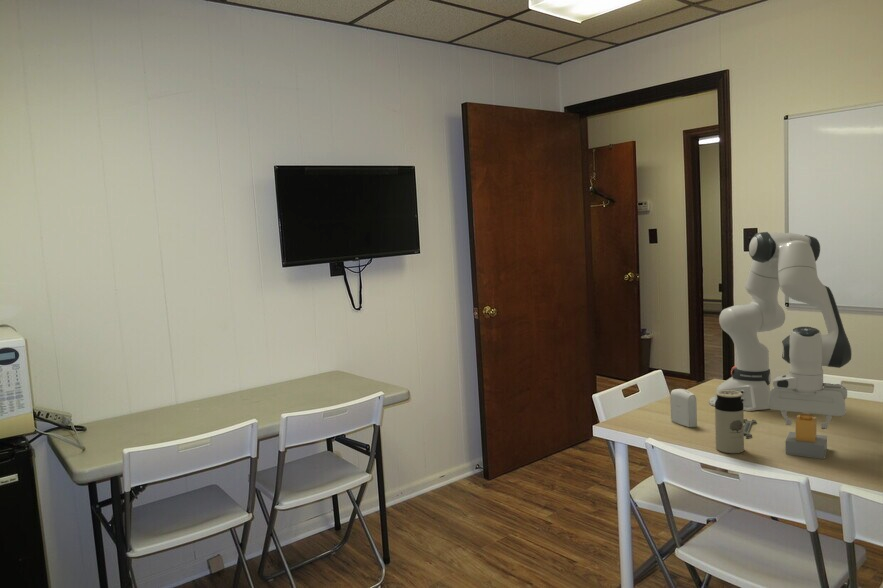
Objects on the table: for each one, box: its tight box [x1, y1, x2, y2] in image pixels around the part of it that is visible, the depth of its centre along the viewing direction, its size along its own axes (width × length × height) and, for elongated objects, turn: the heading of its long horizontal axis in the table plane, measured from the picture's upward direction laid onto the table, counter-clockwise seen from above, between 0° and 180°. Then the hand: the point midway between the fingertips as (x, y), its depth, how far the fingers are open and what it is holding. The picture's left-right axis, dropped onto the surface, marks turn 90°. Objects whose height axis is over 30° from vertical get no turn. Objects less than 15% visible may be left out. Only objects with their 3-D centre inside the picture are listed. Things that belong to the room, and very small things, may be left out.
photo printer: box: [669, 388, 698, 428], centre depth 225 cm, size 10×4×12 cm, turn 20°
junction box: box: [785, 431, 828, 460], centre depth 193 cm, size 10×10×8 cm
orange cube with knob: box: [795, 412, 817, 442], centre depth 192 cm, size 5×5×7 cm
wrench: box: [744, 418, 758, 440], centre depth 216 cm, size 5×2×20 cm
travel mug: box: [714, 390, 745, 454], centre depth 197 cm, size 8×8×18 cm
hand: (806, 426), depth 192 cm, fingers open, 8 cm apart
